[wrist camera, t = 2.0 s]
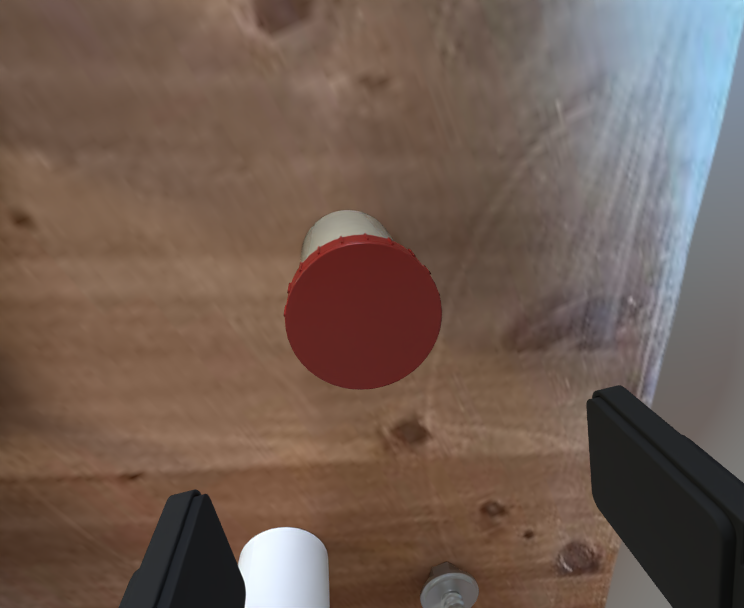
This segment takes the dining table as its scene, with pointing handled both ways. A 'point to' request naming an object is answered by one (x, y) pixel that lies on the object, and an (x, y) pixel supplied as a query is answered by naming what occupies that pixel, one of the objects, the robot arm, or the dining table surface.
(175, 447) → the dining table surface
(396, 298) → the lid
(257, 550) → the cylindrical container
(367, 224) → the jar
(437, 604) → the screw
